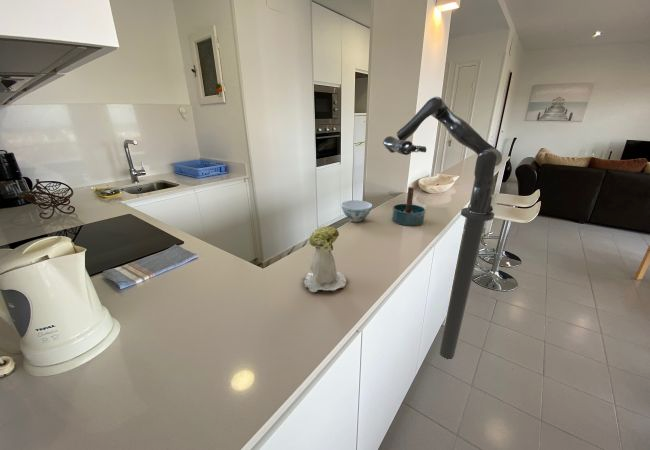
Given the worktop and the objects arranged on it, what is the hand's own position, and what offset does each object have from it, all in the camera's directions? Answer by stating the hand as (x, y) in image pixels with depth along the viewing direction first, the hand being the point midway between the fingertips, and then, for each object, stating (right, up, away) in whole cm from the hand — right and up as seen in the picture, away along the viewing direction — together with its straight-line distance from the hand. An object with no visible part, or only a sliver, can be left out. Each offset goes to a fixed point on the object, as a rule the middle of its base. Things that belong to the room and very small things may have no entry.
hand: (418, 150), depth 142 cm
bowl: (-7, -36, -5) cm, 37 cm away
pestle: (-7, -36, -5) cm, 37 cm away
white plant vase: (-48, -56, -57) cm, 93 cm away
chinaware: (-32, -36, -4) cm, 48 cm away
